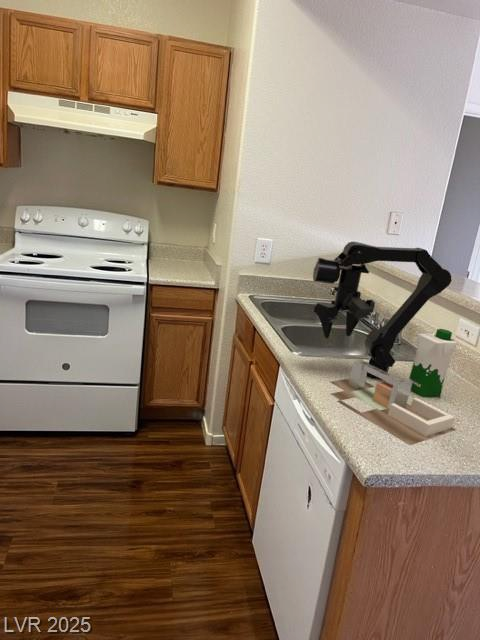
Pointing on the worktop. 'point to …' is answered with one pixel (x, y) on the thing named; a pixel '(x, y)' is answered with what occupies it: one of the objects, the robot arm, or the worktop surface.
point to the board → (381, 413)
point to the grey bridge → (399, 386)
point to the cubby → (434, 425)
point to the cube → (383, 393)
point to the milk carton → (431, 363)
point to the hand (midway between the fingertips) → (337, 336)
